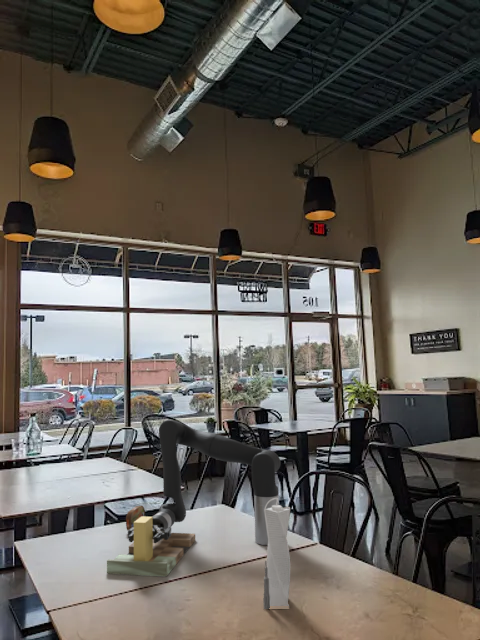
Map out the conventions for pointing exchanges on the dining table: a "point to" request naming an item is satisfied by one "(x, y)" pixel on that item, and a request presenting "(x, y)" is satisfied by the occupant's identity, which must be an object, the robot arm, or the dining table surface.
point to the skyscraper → (277, 557)
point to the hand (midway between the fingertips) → (142, 539)
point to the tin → (134, 516)
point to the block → (143, 539)
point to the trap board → (160, 563)
